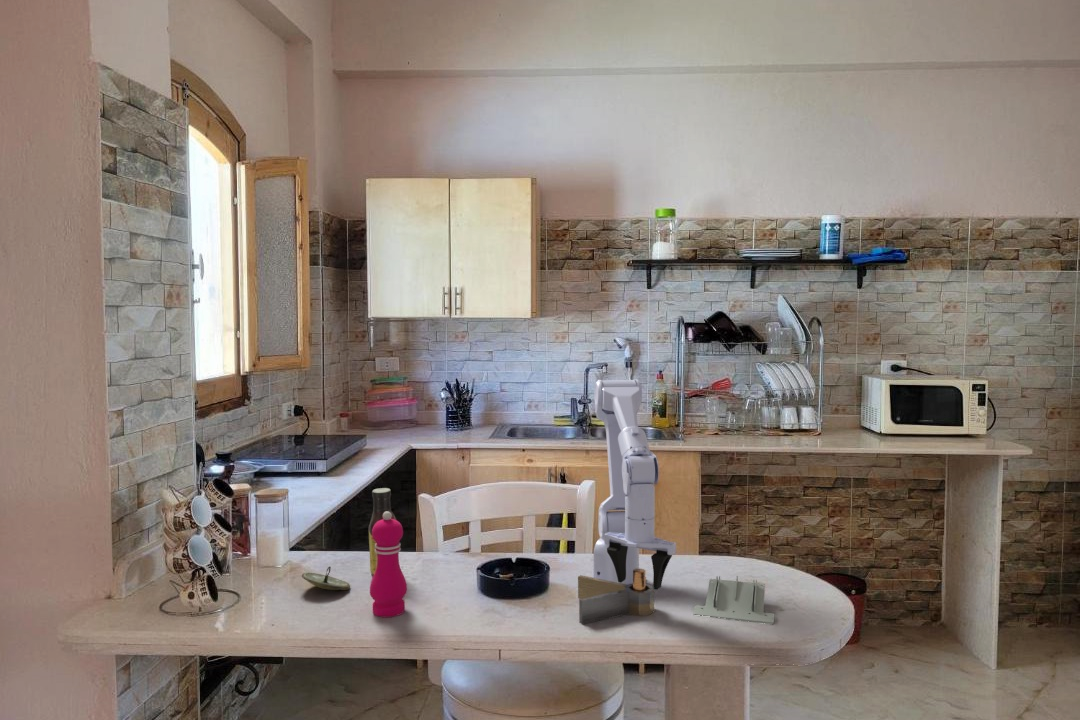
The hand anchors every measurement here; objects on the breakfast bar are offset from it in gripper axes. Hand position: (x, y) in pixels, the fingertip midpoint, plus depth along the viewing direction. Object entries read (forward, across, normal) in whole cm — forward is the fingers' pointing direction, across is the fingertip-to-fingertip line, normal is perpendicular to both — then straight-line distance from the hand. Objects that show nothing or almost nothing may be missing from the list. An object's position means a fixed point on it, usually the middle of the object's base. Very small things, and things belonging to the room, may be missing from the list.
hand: (639, 584), depth 158 cm
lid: (+6, -61, -24) cm, 66 cm away
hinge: (+5, -5, -5) cm, 9 cm away
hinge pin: (+5, 0, 0) cm, 5 cm away
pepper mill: (+5, -42, -26) cm, 50 cm away
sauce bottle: (+5, -56, -12) cm, 58 cm away
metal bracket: (+6, +16, +11) cm, 20 cm away
